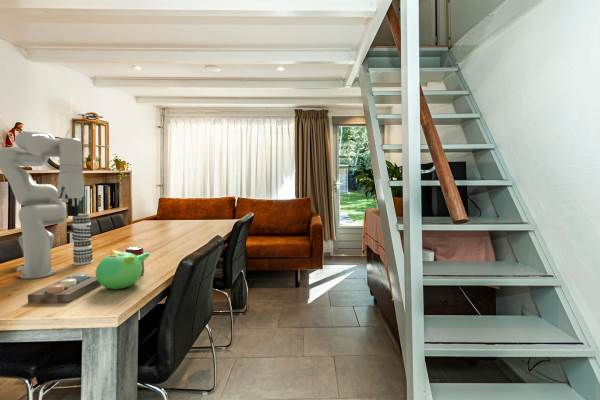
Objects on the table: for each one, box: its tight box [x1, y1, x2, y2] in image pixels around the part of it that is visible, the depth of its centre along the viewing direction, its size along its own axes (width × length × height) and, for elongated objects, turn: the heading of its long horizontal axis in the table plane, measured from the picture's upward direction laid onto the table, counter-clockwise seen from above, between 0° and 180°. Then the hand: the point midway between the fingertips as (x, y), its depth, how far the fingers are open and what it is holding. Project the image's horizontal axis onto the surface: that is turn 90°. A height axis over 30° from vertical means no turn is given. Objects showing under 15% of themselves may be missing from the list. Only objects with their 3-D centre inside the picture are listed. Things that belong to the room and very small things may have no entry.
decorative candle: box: [70, 213, 94, 266], centre depth 178 cm, size 9×9×25 cm
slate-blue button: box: [71, 273, 88, 282], centre depth 139 cm, size 5×5×4 cm
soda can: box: [124, 246, 145, 276], centre depth 155 cm, size 7×7×12 cm
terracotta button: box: [47, 284, 64, 294], centre depth 125 cm, size 5×5×4 cm
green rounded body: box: [95, 249, 151, 290], centre depth 137 cm, size 18×17×15 cm
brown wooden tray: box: [27, 275, 102, 304], centre depth 132 cm, size 14×22×3 cm, turn 1°
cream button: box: [59, 279, 77, 287], centre depth 132 cm, size 5×5×4 cm
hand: (72, 215), depth 139 cm, fingers closed
